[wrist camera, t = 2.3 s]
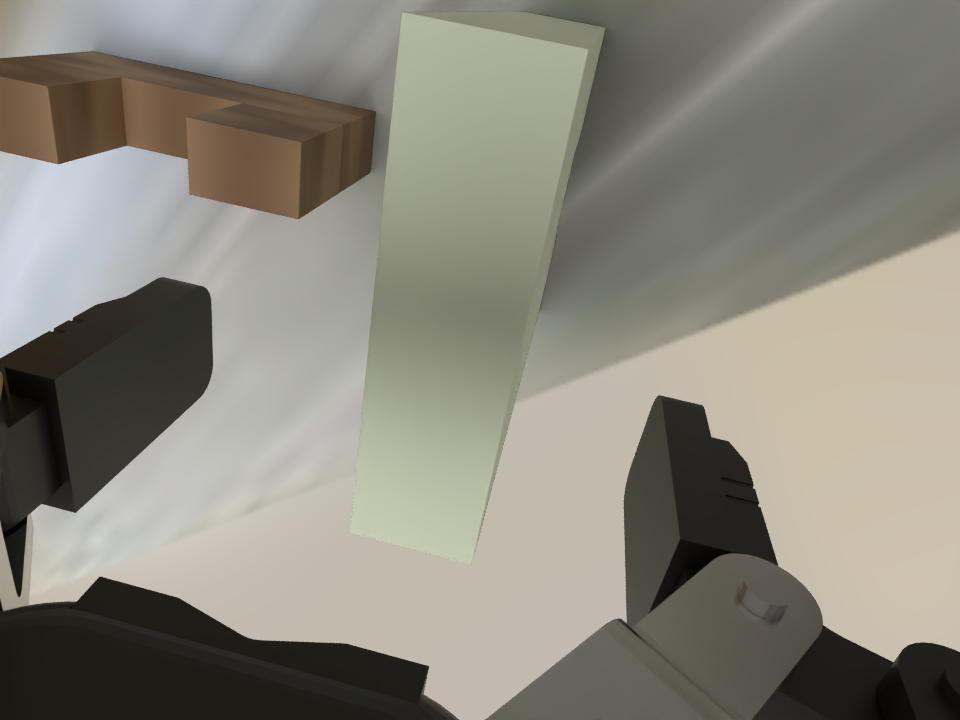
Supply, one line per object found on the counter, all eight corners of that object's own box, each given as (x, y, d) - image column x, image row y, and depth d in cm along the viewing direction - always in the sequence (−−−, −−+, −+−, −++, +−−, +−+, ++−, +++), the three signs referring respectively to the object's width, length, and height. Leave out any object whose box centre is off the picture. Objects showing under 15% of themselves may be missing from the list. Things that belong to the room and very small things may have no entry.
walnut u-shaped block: (99, 112, 28) (-45, 140, 22) (92, 51, 27) (-61, 62, 21) (370, 172, 27) (298, 219, 21) (375, 111, 26) (301, 142, 20)
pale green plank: (522, 11, 24) (401, 12, 11) (605, 27, 23) (588, 49, 10) (471, 297, 29) (349, 532, 16) (538, 313, 29) (471, 564, 16)
